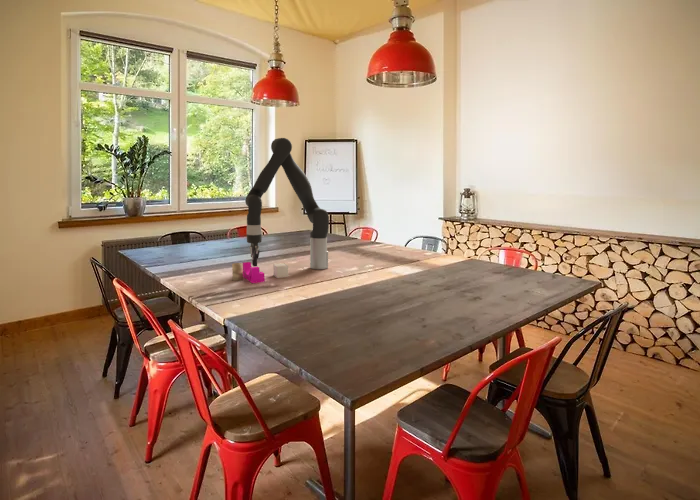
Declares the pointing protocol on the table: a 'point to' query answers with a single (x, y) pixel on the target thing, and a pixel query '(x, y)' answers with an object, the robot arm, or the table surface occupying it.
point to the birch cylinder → (237, 271)
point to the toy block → (252, 273)
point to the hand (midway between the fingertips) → (254, 266)
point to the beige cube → (280, 270)
